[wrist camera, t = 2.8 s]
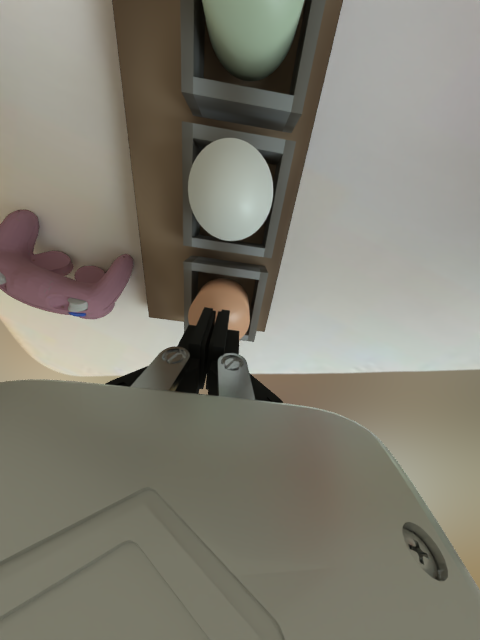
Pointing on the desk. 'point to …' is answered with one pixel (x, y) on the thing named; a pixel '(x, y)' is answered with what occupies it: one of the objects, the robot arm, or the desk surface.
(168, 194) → the board
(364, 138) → the desk surface
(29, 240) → the video game controller
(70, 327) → the desk surface
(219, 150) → the white egg
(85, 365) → the desk surface
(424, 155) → the desk surface
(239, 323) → the brown egg
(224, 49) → the pale green egg
